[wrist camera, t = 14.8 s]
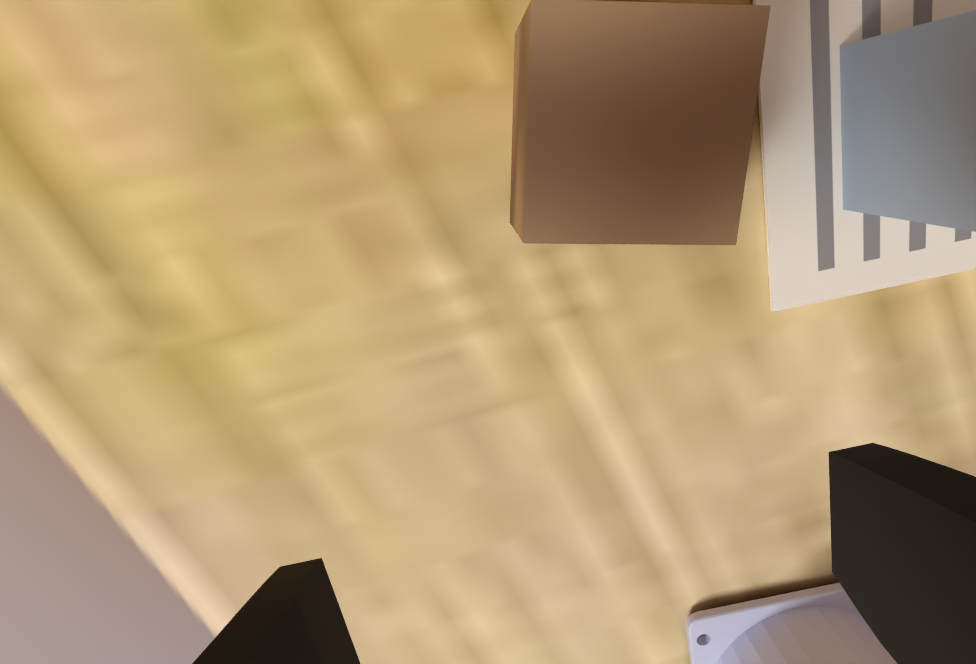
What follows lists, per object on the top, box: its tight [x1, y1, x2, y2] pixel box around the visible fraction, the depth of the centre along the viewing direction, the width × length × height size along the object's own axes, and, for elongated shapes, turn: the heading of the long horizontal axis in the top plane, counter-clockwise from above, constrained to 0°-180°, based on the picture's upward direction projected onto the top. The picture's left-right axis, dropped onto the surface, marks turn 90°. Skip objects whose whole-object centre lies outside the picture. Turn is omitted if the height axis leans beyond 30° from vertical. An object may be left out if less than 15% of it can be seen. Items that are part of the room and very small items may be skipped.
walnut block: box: [510, 0, 771, 245], centre depth 15 cm, size 5×5×4 cm
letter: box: [752, 0, 976, 312], centre depth 16 cm, size 12×9×1 cm
